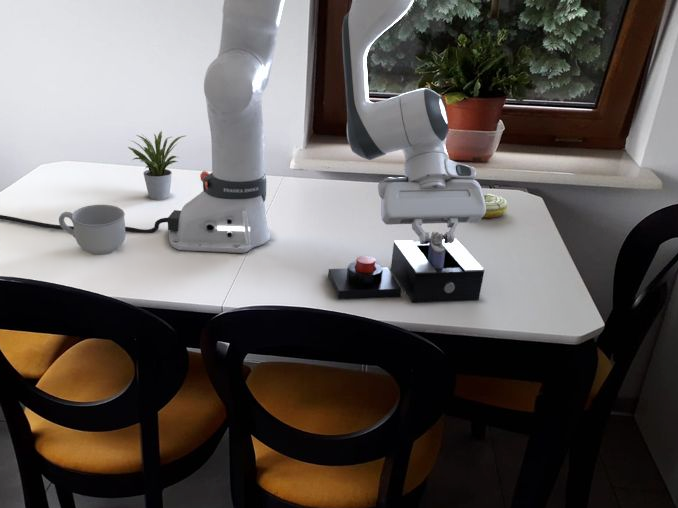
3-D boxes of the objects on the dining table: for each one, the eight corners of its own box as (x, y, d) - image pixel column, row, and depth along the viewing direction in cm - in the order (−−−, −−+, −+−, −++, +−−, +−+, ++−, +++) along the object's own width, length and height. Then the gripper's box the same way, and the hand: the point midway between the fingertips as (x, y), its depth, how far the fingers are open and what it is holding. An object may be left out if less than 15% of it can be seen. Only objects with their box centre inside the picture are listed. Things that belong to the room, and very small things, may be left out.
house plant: (176, 183, 189) (173, 121, 181) (199, 198, 179) (197, 133, 171) (126, 191, 182) (120, 127, 174) (147, 207, 172) (142, 140, 164)
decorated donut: (463, 203, 181) (465, 188, 179) (506, 208, 178) (509, 194, 176) (458, 216, 172) (461, 201, 170) (504, 221, 169) (507, 206, 167)
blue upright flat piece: (441, 294, 134) (447, 241, 128) (426, 294, 134) (430, 241, 129) (438, 274, 142) (443, 224, 136) (424, 274, 142) (428, 223, 137)
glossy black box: (413, 304, 130) (417, 273, 127) (390, 269, 144) (393, 240, 140) (487, 302, 132) (493, 271, 129) (458, 267, 145) (462, 238, 142)
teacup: (136, 243, 153) (133, 208, 148) (110, 262, 144) (106, 225, 140) (80, 234, 156) (76, 199, 152) (52, 252, 147) (46, 215, 143)
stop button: (357, 274, 133) (358, 263, 132) (353, 266, 136) (354, 256, 135) (376, 273, 133) (377, 263, 132) (371, 265, 136) (372, 255, 135)
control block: (338, 299, 131) (339, 280, 129) (328, 277, 140) (329, 258, 138) (400, 297, 133) (402, 278, 131) (386, 275, 141) (388, 256, 139)
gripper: (380, 169, 134) (389, 237, 130) (483, 168, 136) (494, 234, 133) (372, 185, 140) (380, 250, 136) (471, 183, 142) (481, 247, 139)
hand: (437, 242), depth 135 cm, fingers closed on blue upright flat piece, 3 cm apart
